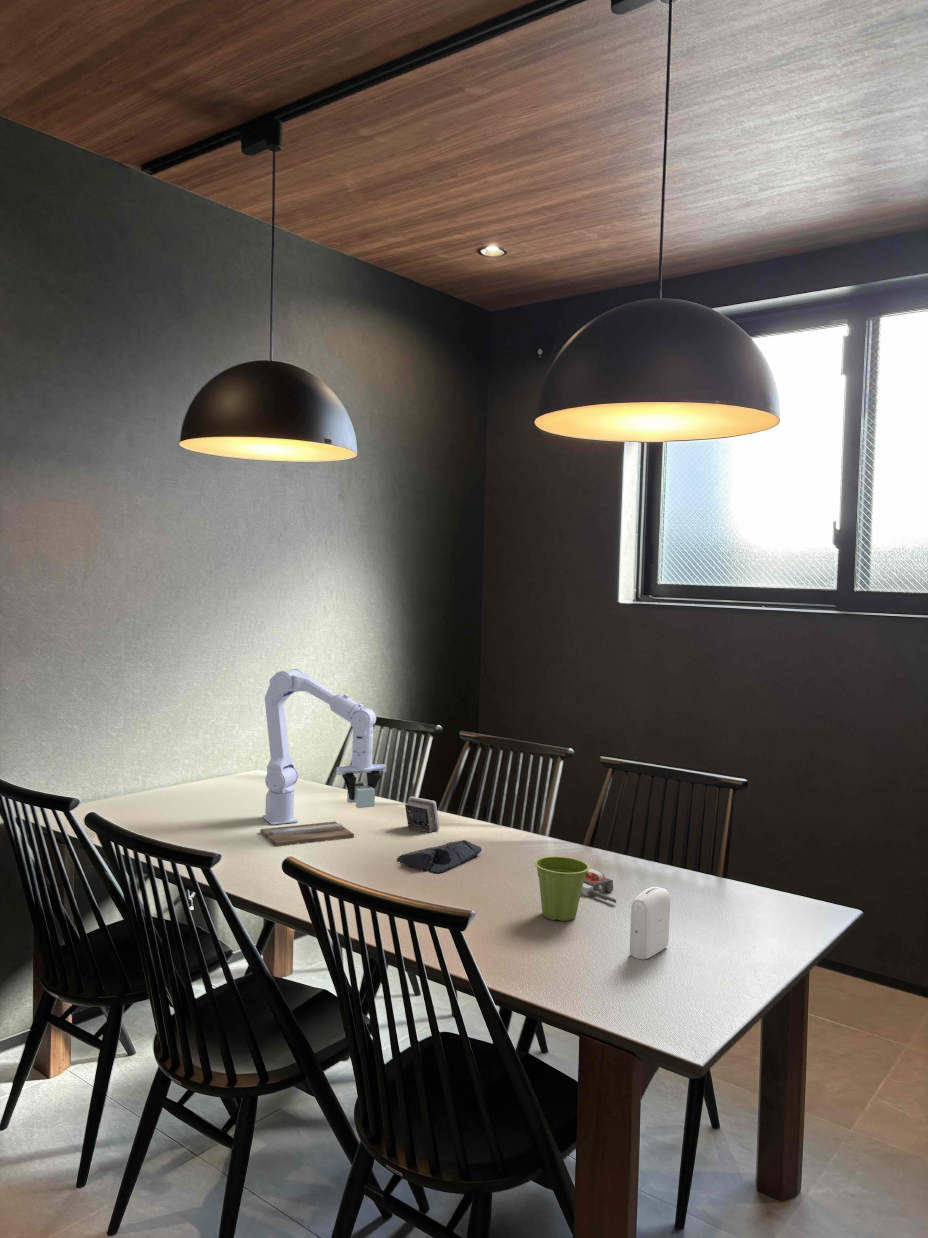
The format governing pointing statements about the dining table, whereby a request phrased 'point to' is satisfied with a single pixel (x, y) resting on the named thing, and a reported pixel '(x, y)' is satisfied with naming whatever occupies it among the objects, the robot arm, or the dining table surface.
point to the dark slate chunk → (440, 856)
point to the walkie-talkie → (597, 885)
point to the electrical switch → (422, 814)
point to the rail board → (306, 833)
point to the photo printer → (649, 923)
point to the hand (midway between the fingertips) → (360, 798)
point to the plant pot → (560, 885)
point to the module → (363, 796)
